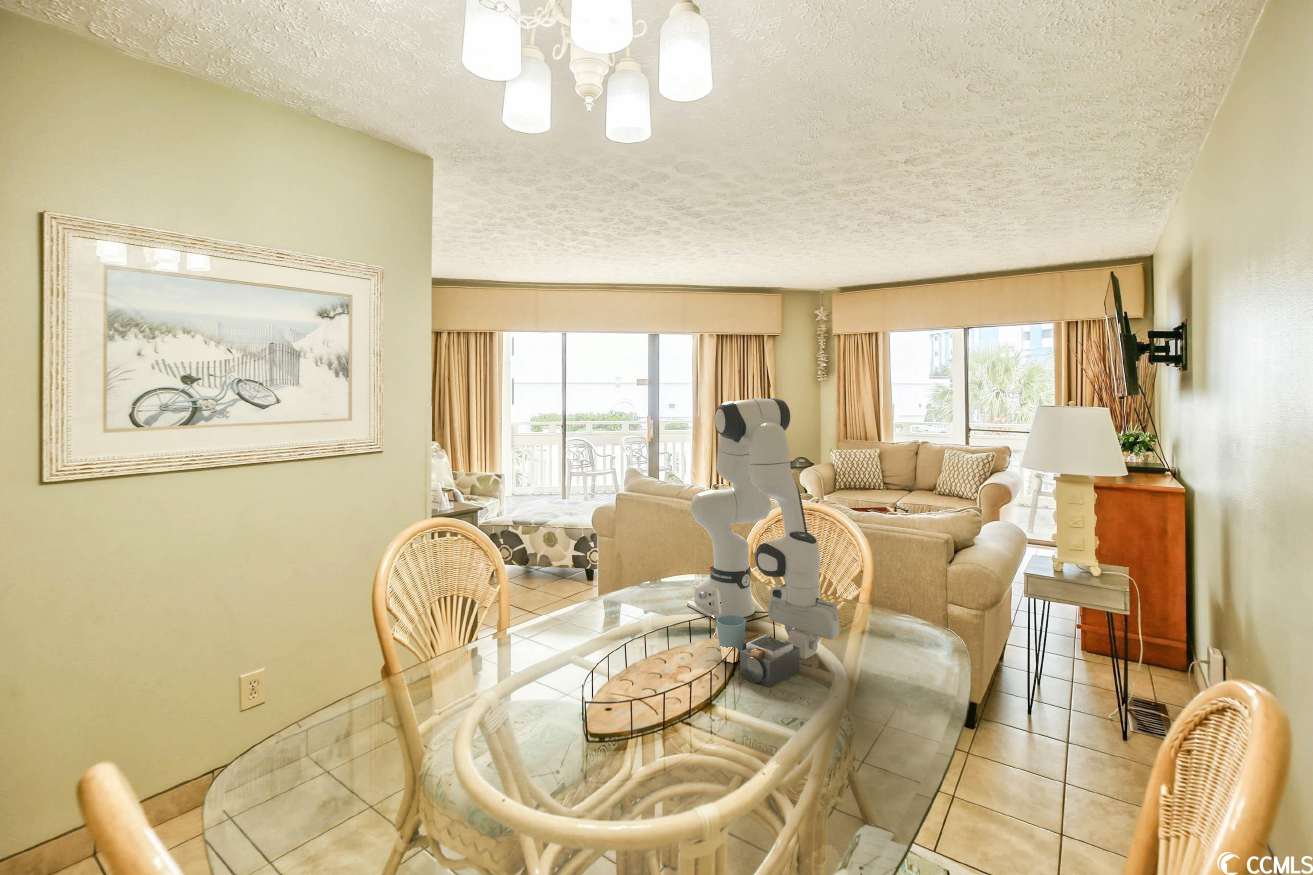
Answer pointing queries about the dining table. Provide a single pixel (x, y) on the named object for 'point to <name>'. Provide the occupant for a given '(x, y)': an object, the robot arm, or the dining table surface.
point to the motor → (769, 661)
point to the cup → (731, 631)
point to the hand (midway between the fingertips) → (802, 645)
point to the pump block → (802, 642)
